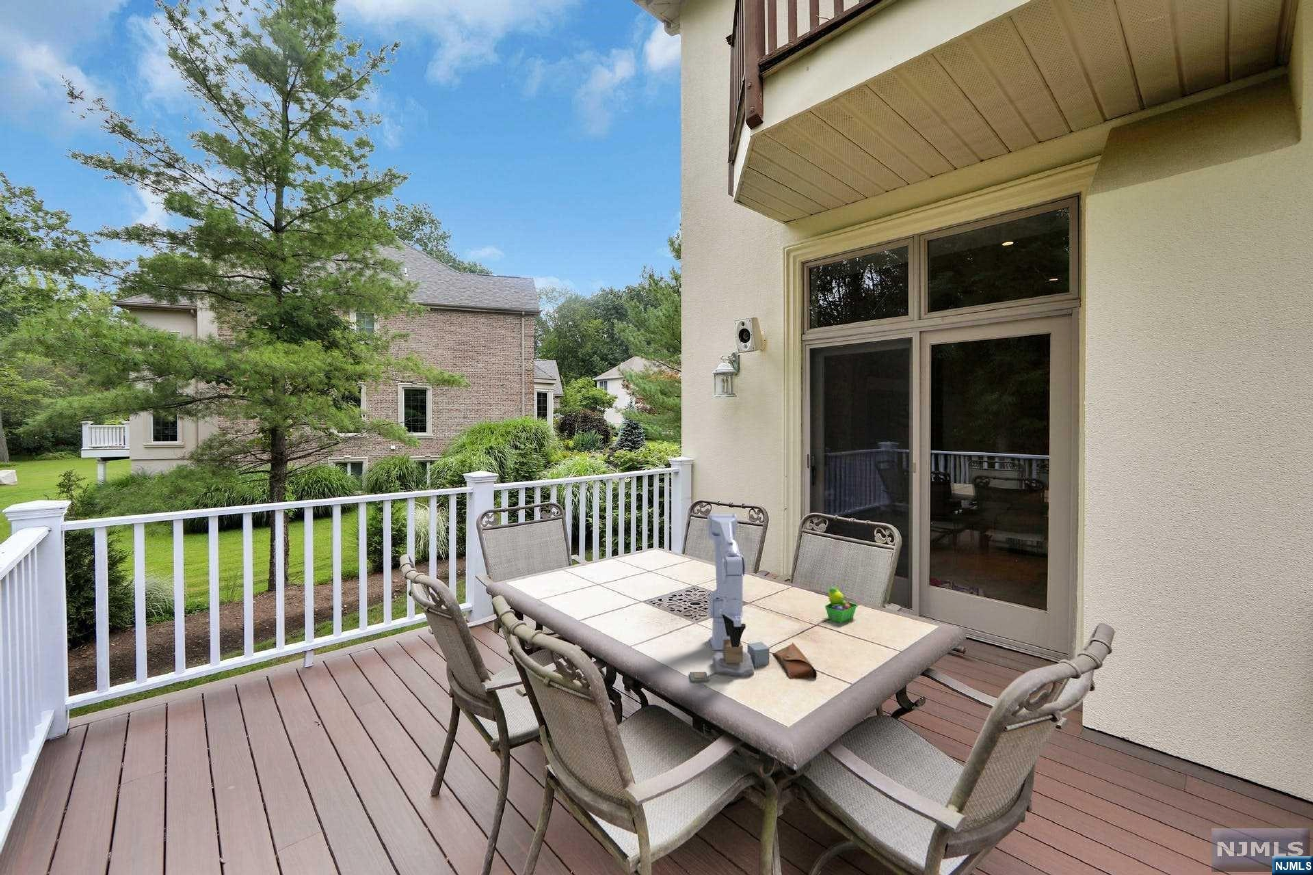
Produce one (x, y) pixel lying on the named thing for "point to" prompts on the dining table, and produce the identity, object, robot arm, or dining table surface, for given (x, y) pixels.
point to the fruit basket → (839, 607)
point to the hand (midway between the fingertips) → (732, 640)
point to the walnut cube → (732, 652)
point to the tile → (699, 677)
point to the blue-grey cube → (758, 653)
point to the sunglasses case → (795, 663)
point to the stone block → (733, 665)
